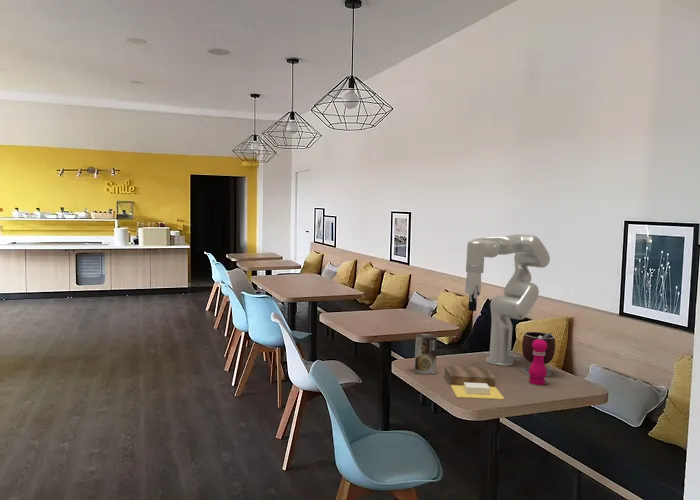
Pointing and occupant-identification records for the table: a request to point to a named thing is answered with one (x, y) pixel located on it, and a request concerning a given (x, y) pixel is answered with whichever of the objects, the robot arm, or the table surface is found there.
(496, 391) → the mustard mat
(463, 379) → the walnut board
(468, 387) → the white rectangular block
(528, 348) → the mate gourd
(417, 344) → the coffee box
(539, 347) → the pepper mill
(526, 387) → the table surface
